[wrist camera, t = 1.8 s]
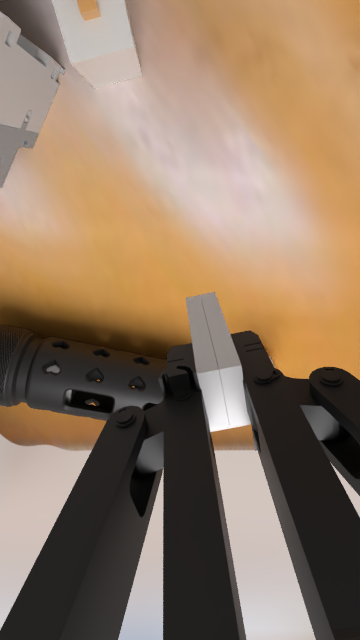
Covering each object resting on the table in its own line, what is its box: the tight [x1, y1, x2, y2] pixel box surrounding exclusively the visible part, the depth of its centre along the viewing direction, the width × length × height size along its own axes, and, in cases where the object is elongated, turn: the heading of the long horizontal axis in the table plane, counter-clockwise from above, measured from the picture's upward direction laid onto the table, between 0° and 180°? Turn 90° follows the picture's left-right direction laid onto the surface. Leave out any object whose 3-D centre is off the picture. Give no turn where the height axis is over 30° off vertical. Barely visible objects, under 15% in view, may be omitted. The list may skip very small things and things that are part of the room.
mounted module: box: [52, 0, 142, 89], centre depth 26 cm, size 5×8×10 cm, turn 13°
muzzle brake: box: [0, 325, 167, 421], centre depth 42 cm, size 10×28×10 cm, turn 75°
